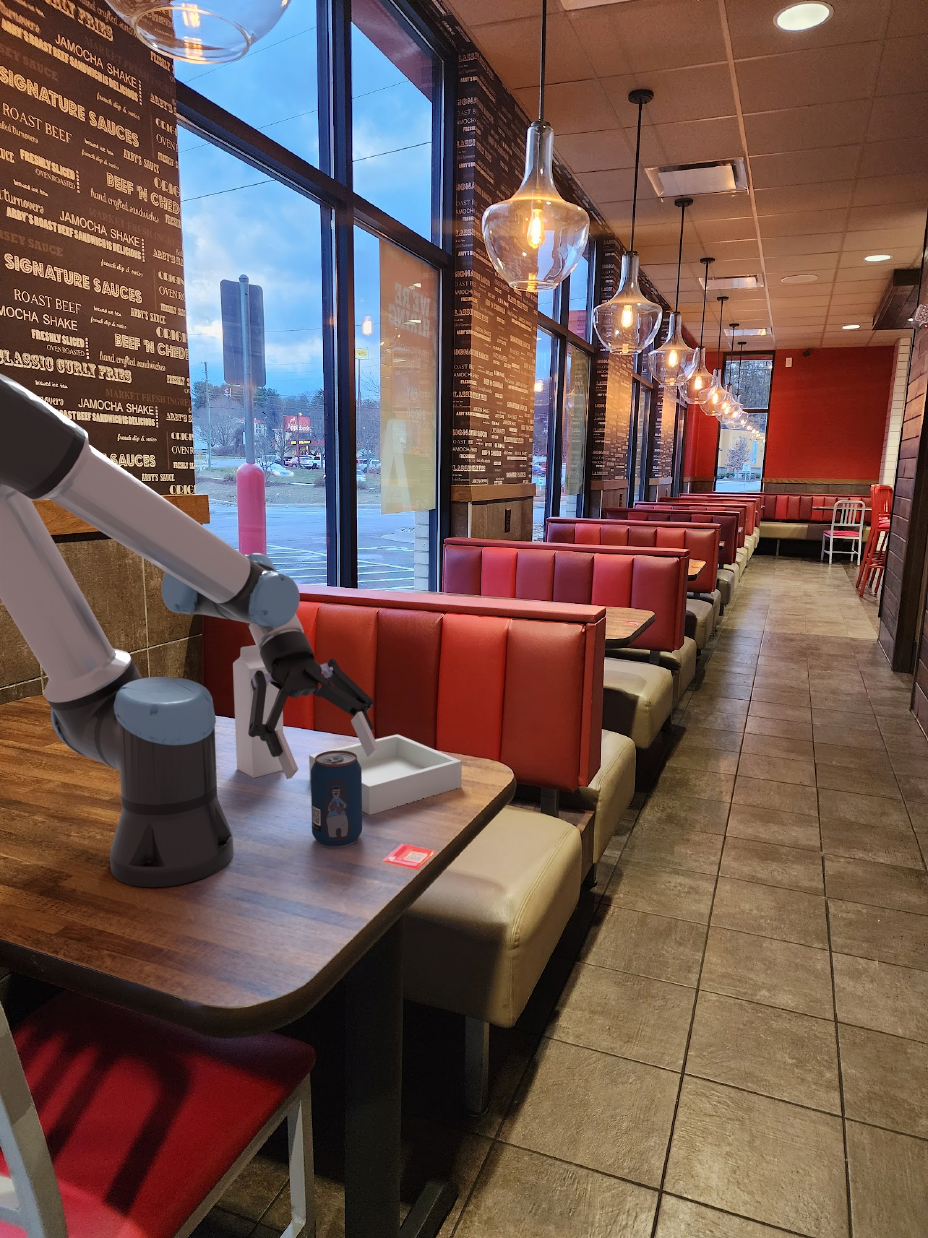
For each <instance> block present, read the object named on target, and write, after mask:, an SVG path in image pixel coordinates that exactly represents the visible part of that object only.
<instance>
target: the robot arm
mask: <svg viewBox="0 0 928 1238" xmlns="http://www.w3.org/2000/svg"><path fill="white" fill-rule="evenodd" d="M43 500H50V501H51V502H53V503H55V504H56V505H57V506H59V507H61V508H63V509H64V510H66V511H67V512H69V513H71V514H72V515H74V516H75V517H77V518H78V519H81V520H82V521H83V522H85V523H86V524H88V525H89V526H92V527H93V528H95V529H96V530H98V531H99V532H101V533H103V534H104V535H106V536H107V537H109V538H111V539H112V540H114V541H116V542H117V543H119V544H120V545H122V546H124V547H125V548H127V549H128V550H130V551H132V552H133V553H135V554H136V555H138V556H139V557H141V558H143V559H144V560H146V561H147V562H150V563H151V564H152V565H155V567H157V568H159V569H160V570H162V571H164V574H163V576H162V577H163V578H162V580H161V597H162V600H163V603H164V605H165V606H166V608H167V609H168V610H169V611H171V612H173V613H175V614H177V613H178V614H186V615H189V616H191V615H204V616H209V617H215V618H220V619H226V620H232V621H236V622H237V621H238V622H241V623H245V624H246V625H247V627H248V629H249V630H250V631H249V632H250V634H251V637H252V638H253V640H254V643H255V645H256V646H257V648H258V650H259V651H260V656H261V658H262V661H263V663H264V666H265V668H266V670H267V672H268V673H263V672H262V671H261V670H258V671H256V673H255V674H254V676H253V678H252V679H251V685H252V689H253V699H252V707H251V715H250V723H249V731H248V734H249V736H250V737H255V736H260V739H261V740H262V741H266V743H267V746H268V748H269V751H270V753H271V755H272V756H273V757H277V756H278V759H279V761H280V764H281V766H282V769H283V770H282V772H283V773H284V776H285V778H286V780H289V779H293V777H294V776H295V775H296V773H297V772H298V771H299V768H298V764H297V762H296V760H295V758H294V756H293V753H292V750H291V748H290V746H289V744H288V741H287V738H286V735H285V734H284V730H283V731H282V729H278V730H276V732H275V728H276V725H277V723H278V720H279V718H280V715H281V713H282V710H284V707H285V706H286V702H287V700H288V697H289V698H292V699H297V698H299V697H302V696H303V697H304V696H305V697H307V696H311V695H314V696H317V697H318V698H320V697H321V698H323V699H324V700H326V701H328V702H330V703H331V704H333V705H334V706H336V707H338V708H339V709H341V711H344V712H345V713H347V714H348V715H350V716H351V717H352V719H351V720H350V723H351V725H352V727H353V729H354V731H355V734H356V736H357V738H358V741H359V743H361V745H362V747H363V749H364V751H365V754H366V756H367V758H369V757H372V756H373V755H374V754H375V753H376V751H377V750H378V749H379V747H378V745H377V743H376V741H375V740H376V739H375V737H374V734H373V731H374V725H373V724H372V721H371V719H370V717H369V715H368V712H369V710H370V709H371V708H372V707H373V706H374V704H375V701H374V700H373V698H372V697H370V696H369V695H368V693H366V692H365V691H364V690H363V689H362V688H361V687H360V686H359V685H358V684H357V683H356V682H355V681H354V680H352V678H350V677H349V676H348V675H347V674H346V672H344V671H343V670H342V669H341V668H340V665H339V664H338V662H337V660H335V659H334V658H330V659H329V660H328V661H327V662H326V663H322V664H320V663H318V662H317V660H316V659H315V654H314V651H313V647H312V646H311V643H310V641H309V639H308V637H307V635H306V633H304V632H305V631H304V628H303V625H302V623H301V621H300V619H299V617H298V615H297V611H298V608H299V606H300V602H301V601H300V599H301V598H300V591H299V587H298V585H297V583H296V581H295V580H294V579H293V578H292V577H290V576H289V575H287V574H285V573H281V572H279V571H277V568H276V567H275V565H274V564H273V561H272V560H271V559H270V558H269V556H267V555H266V554H263V553H259V552H251V554H243V553H241V552H240V551H239V550H237V549H236V548H234V547H233V546H231V545H230V544H229V543H227V542H226V541H225V540H224V539H222V538H221V537H219V536H217V535H216V534H215V533H213V532H212V531H210V530H209V529H208V528H206V527H205V526H204V525H202V524H201V523H199V522H198V521H197V520H196V519H194V518H193V517H191V516H189V514H187V513H185V512H184V511H182V510H181V509H180V508H178V507H177V506H175V505H174V504H173V503H171V502H170V501H169V500H168V499H166V498H164V497H163V496H162V495H160V494H159V493H157V492H156V491H155V490H153V489H152V488H150V486H148V485H146V484H145V483H143V482H142V481H141V480H139V479H138V478H136V477H135V476H133V474H132V473H129V472H128V471H127V470H126V469H124V468H122V467H121V466H119V465H118V464H117V463H116V462H114V461H113V460H111V459H110V458H108V456H106V455H104V454H103V453H102V452H100V451H99V450H97V449H96V448H94V447H93V446H92V445H90V442H89V436H88V432H87V431H86V430H85V429H84V428H83V427H81V426H79V425H78V424H77V423H75V422H74V421H73V420H71V419H70V418H69V417H67V416H66V415H64V414H63V413H62V412H60V411H59V410H57V409H56V408H55V407H53V406H52V405H51V404H49V403H48V402H46V401H45V400H44V399H42V398H41V397H39V396H38V395H37V394H35V393H33V392H32V391H31V390H29V389H27V388H26V387H24V386H23V385H21V384H20V383H18V382H17V381H15V380H14V379H12V378H10V377H8V376H6V375H4V374H2V373H0V601H1V602H2V604H3V605H4V607H5V609H6V611H7V612H8V614H9V615H10V617H11V619H12V620H13V622H14V624H15V625H16V627H17V628H18V630H19V632H20V633H21V636H22V637H23V639H24V640H25V642H26V644H27V645H28V647H29V648H30V650H31V652H32V653H33V655H34V657H35V658H36V660H37V662H38V664H39V665H40V666H41V668H42V669H43V672H44V674H45V675H46V676H47V678H48V680H47V683H46V685H45V688H44V690H43V695H44V698H45V699H46V701H47V703H48V704H49V706H50V707H51V709H50V720H51V723H52V727H53V730H54V731H55V734H56V735H57V737H58V738H59V739H60V740H61V741H62V742H63V743H64V744H65V745H66V746H67V747H68V748H69V749H71V750H72V751H74V752H75V753H77V754H79V755H81V756H84V757H86V758H89V759H92V760H94V761H97V762H98V763H102V764H104V765H106V766H108V767H110V768H113V769H115V770H117V771H119V779H120V781H119V782H120V784H119V785H120V794H121V795H120V797H121V799H120V800H121V813H120V816H119V818H118V819H119V820H118V824H117V827H116V830H115V835H114V837H113V841H112V844H111V848H110V853H109V861H110V862H109V863H110V873H111V875H112V876H113V877H114V878H115V879H116V880H118V881H119V882H122V883H123V884H127V885H130V886H135V887H143V888H163V887H172V886H173V887H175V886H179V885H183V884H187V883H192V882H195V881H199V880H201V879H202V880H203V879H204V878H206V877H209V876H212V875H213V874H215V873H217V872H218V871H220V870H221V869H223V868H225V867H226V866H227V864H229V862H231V860H232V859H233V856H234V837H233V833H232V831H231V828H230V826H229V823H228V821H227V819H226V816H225V813H224V810H223V808H222V806H221V803H220V801H219V798H218V779H217V757H216V756H217V754H216V751H217V750H216V728H215V726H216V723H217V721H216V714H215V708H214V702H213V697H212V695H211V693H210V691H209V690H208V689H207V687H205V686H203V685H202V684H200V683H198V682H197V681H196V682H195V681H193V680H192V679H186V678H182V677H178V678H173V677H172V676H152V677H150V676H149V677H143V676H142V675H141V672H140V671H139V669H138V668H137V665H136V664H135V661H134V660H133V658H132V657H131V655H130V653H129V652H127V651H126V650H121V649H117V648H113V646H112V645H111V643H110V641H109V639H108V638H107V636H106V633H105V632H104V630H103V628H102V626H101V625H100V623H99V621H98V619H97V618H96V616H95V614H94V612H93V610H92V609H91V607H90V605H89V603H88V601H87V600H86V597H85V596H84V594H83V592H82V591H81V589H80V587H79V585H78V582H77V581H76V579H75V578H74V575H73V574H72V573H71V570H70V569H69V567H68V564H67V563H66V561H65V560H64V558H63V555H62V553H61V552H60V550H59V548H58V546H57V544H56V543H55V541H54V539H53V538H52V536H51V534H50V532H49V530H48V529H47V526H46V524H45V523H44V521H43V519H42V518H41V515H40V514H39V512H38V510H37V509H36V507H35V505H34V503H33V501H35V502H36V501H37V502H38V501H43ZM322 674H323V675H322ZM269 682H270V683H271V684H272V685H273V686H275V687H276V688H278V689H279V692H278V694H277V697H276V699H275V702H274V705H273V707H272V710H271V712H270V714H269V717H268V719H267V722H266V724H262V723H263V714H264V705H265V696H266V687H267V686H268V684H269ZM319 684H320V685H321V686H320V687H319Z"/></svg>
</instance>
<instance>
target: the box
mask: <svg viewBox="0 0 928 1238" xmlns="http://www.w3.org/2000/svg"><path fill="white" fill-rule="evenodd" d="M375 741H376V743H377V745H378V747H379V749H378V750H377V751H376V753H375V754H374V755H373V756H372V757H369V758H367V756H366V754H365V751H364V749H363V747H362V745H361V743H360V742H358V743H355V744H351V745H346V746H342V747H338V748H333V749H330V750H329V749H328V750H325V751H321V752H316V753H312V754H309V756H308V757H309V758H308V759H309V761H308V762H309V782H311V768H312V766H313V764H314V762H315V757H316V756H317V755H318V754H320V753H323V752H327V751H334V750H342V751H349V752H353V753H355V754H356V755H357V760H358V762H359V764H360V766H361V769H362V813H363V812H364V813H365V814H367V815H368V816H371V815H374V814H378V813H381V812H384V811H388V810H392V809H395V808H398V807H400V806H404V805H407V804H406V803H408V804H410V803H414V802H417V800H418V801H420V800H423V799H422V798H424V799H427V797H428V798H430V797H433V795H434V796H437V795H440V794H439V793H441V794H443V793H447V792H450V790H451V791H454V790H456V788H457V789H460V788H462V776H463V775H462V767H463V766H462V765H463V764H462V760H460V759H457V758H455V757H453V756H450V755H448V754H445V753H443V752H440V751H439V750H436V749H434V748H431V747H429V746H427V745H424V744H422V743H419V742H417V741H414V740H413V739H410V738H407V737H405V736H402V735H400V734H393V735H389V736H384V737H381V738H376V739H375ZM413 801H414V802H413ZM397 806H398V807H397Z"/></svg>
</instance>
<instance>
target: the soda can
mask: <svg viewBox="0 0 928 1238" xmlns="http://www.w3.org/2000/svg"><path fill="white" fill-rule="evenodd" d="M326 751H327V752H324V751H322V752H323V753H320V752H319V753H320V754H318V755H317V756H316V757H315V762H314V764H313V766H312V768H311V781H310V793H311V794H310V795H311V798H310V799H311V803H310V804H311V833H312V836H313V837H314V839H315V840H316V842H317V844H319V845H320V846H322V847H324V848H329V849H341V848H345V847H349V846H351V845H353V844H354V843H356V842H357V840H358V839H359V837H360V836H361V834H362V831H363V811H362V769H361V766H360V764H359V762H358V760H357V755H356V754H355V753H353V752H349V751H342V750H334V751H328V750H326Z"/></svg>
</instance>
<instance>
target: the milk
mask: <svg viewBox="0 0 928 1238" xmlns="http://www.w3.org/2000/svg"><path fill="white" fill-rule="evenodd" d="M239 653H240V656H239V657H237V659H236V660H234V662H233V663H232V670H233V671H232V673H233V674H232V675H233V676H232V677H233V699H234V701H233V702H234V728H235V752H236V753H235V754H236V755H235V756H236V769H237V770H239V771H240V772H242V773H244V774H245V775H247V776H249V777H251V778H252V779H256V778H258V777H262V776H266V775H270V774H274V773H278V772H283V769H282V766H281V764H280V761H279V759H278V756H277V757H273V756H272V755H271V753H270V751H269V748H268V746H267V743H266V741H262V740H261V739H260V736H255V737H250V736H249V734H248V731H249V723H250V715H251V707H252V699H253V689H252V685H251V679H252V678H253V676H254V674H255V673H256V671H258V670H261V671H262V672H263V673H268V672H267V670H266V668H265V666H264V663H263V661H262V658H261V656H260V651H259V650H258V648H257V646H256V644H255V645H249V646H242V647H240V652H239ZM278 692H279V689H278V688H276V687H275V686H273V685H272V684H271V683H270V682H269V684H268V686H267V687H266V696H265V705H264V714H263V723H262V724H266V722H267V719H268V717H269V714H270V712H271V710H272V707H273V705H274V702H275V699H276V697H277V694H278ZM283 710H284V709H283ZM283 710H282V713H281V715H280V718H279V720H278V723H277V725H276V728H275V732H276V730H278V729H282V731H283V732H284V712H283Z"/></svg>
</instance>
